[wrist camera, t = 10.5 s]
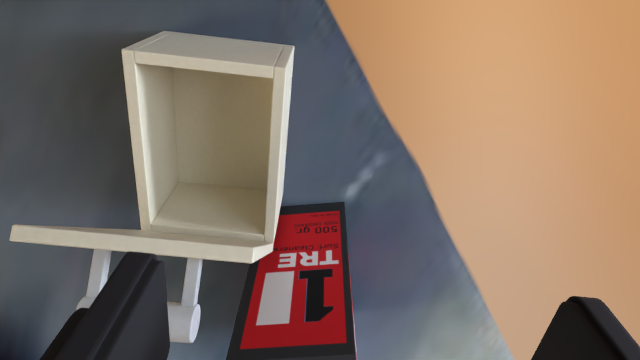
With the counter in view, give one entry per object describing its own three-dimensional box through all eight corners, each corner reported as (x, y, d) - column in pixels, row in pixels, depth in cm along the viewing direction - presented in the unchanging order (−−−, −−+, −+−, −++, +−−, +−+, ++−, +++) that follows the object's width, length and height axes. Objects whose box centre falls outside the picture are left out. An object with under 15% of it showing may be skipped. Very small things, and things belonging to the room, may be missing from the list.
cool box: (163, 30, 38) (120, 49, 30) (294, 45, 38) (286, 67, 30) (173, 183, 45) (140, 231, 37) (282, 194, 45) (273, 244, 37)
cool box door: (11, 224, 20) (-12, 339, 20) (254, 247, 21) (241, 360, 20) (139, 229, 37) (130, 292, 36) (273, 242, 37) (266, 304, 36)
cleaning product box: (353, 312, 53) (367, 487, 36) (284, 317, 54) (264, 491, 36) (344, 201, 46) (355, 354, 28) (264, 208, 46) (225, 361, 28)
